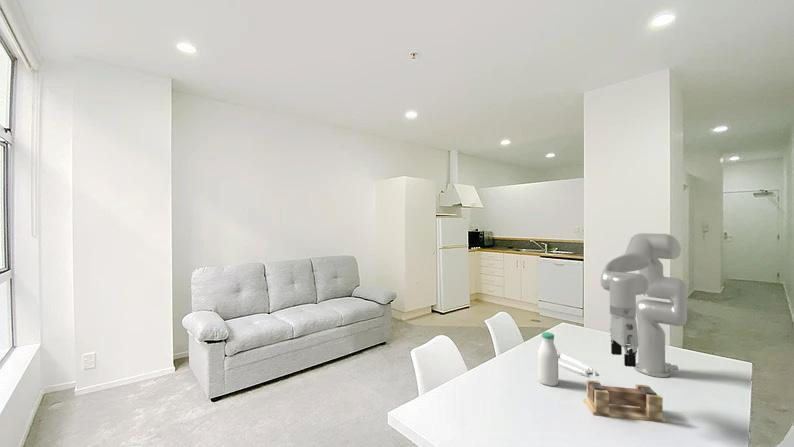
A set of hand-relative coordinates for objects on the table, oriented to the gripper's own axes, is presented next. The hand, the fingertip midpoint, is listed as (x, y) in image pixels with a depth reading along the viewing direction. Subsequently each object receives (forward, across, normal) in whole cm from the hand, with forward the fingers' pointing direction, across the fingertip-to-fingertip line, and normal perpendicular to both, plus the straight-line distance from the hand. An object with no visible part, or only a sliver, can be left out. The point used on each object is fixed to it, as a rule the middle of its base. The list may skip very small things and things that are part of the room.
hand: (622, 360), depth 115 cm
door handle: (+19, +37, +7) cm, 42 cm away
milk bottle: (+18, +17, +20) cm, 32 cm away
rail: (+15, 0, 0) cm, 15 cm away
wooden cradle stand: (+18, -1, 0) cm, 18 cm away
